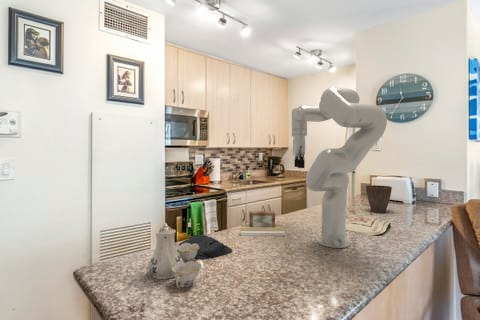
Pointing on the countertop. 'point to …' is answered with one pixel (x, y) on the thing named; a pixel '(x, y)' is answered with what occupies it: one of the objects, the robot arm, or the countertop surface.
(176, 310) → the countertop surface
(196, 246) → the chinaware
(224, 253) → the dark folded cloth
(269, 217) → the brown rectangular panel
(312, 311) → the countertop surface
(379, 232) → the grape print plaque
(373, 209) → the plant pot
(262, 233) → the ledge board
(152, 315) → the countertop surface
